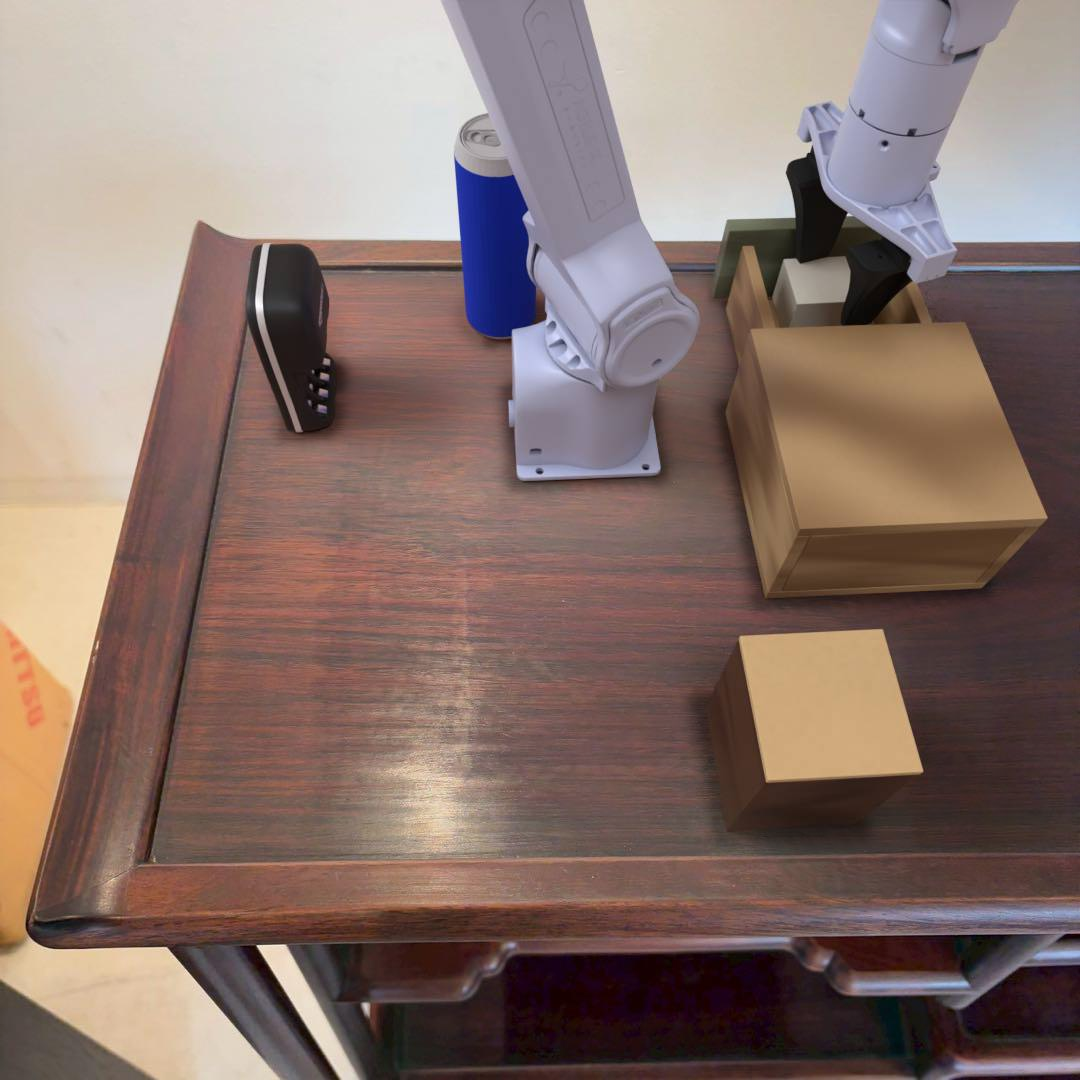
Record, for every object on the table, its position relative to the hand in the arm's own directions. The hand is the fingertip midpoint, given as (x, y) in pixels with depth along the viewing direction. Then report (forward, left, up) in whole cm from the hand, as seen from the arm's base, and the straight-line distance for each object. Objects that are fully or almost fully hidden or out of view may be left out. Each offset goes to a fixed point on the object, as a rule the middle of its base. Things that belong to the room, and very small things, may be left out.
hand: (832, 290), depth 60 cm
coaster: (-9, -31, +4) cm, 32 cm away
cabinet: (-1, -13, -5) cm, 14 cm away
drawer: (-1, -1, -5) cm, 5 cm away
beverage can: (-23, +4, -6) cm, 24 cm away
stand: (-9, -31, -5) cm, 32 cm away
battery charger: (-36, -3, -6) cm, 36 cm away
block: (-1, +1, -3) cm, 4 cm away
